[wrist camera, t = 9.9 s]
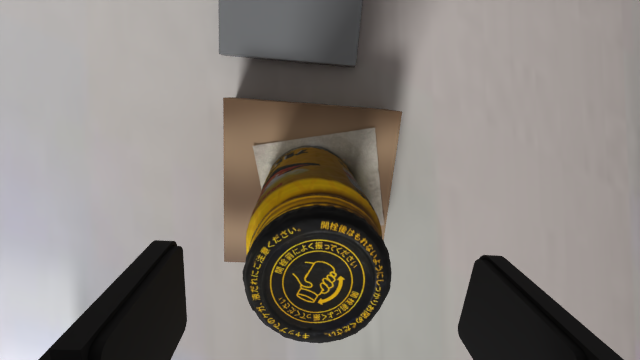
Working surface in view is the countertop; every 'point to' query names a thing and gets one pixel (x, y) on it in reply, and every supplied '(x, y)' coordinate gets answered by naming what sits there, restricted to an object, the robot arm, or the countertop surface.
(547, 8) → the countertop surface
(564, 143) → the countertop surface
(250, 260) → the condiment
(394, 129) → the block
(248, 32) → the coaster
